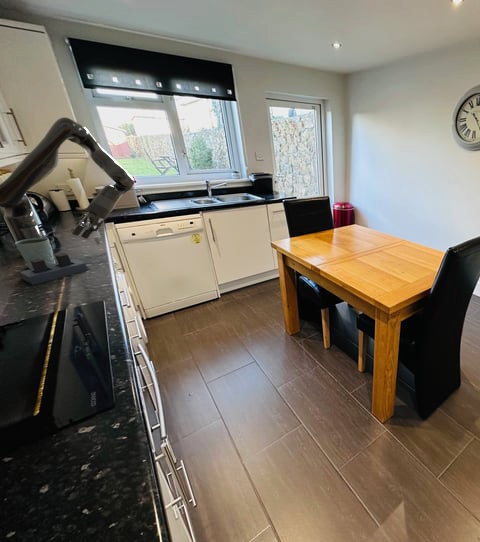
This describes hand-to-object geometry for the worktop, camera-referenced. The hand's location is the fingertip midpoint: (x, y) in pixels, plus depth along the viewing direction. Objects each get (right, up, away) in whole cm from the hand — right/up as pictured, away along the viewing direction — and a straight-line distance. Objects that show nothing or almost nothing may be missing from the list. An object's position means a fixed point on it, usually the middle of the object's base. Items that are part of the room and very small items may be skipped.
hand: (79, 236), depth 125 cm
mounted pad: (-7, -18, -7) cm, 21 cm away
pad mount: (-6, -17, -4) cm, 18 cm away
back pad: (-4, -16, -1) cm, 16 cm away
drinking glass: (-21, -13, +5) cm, 26 cm away
